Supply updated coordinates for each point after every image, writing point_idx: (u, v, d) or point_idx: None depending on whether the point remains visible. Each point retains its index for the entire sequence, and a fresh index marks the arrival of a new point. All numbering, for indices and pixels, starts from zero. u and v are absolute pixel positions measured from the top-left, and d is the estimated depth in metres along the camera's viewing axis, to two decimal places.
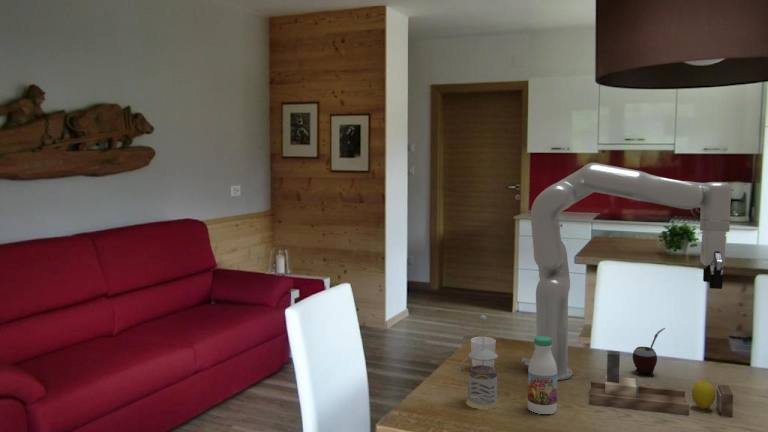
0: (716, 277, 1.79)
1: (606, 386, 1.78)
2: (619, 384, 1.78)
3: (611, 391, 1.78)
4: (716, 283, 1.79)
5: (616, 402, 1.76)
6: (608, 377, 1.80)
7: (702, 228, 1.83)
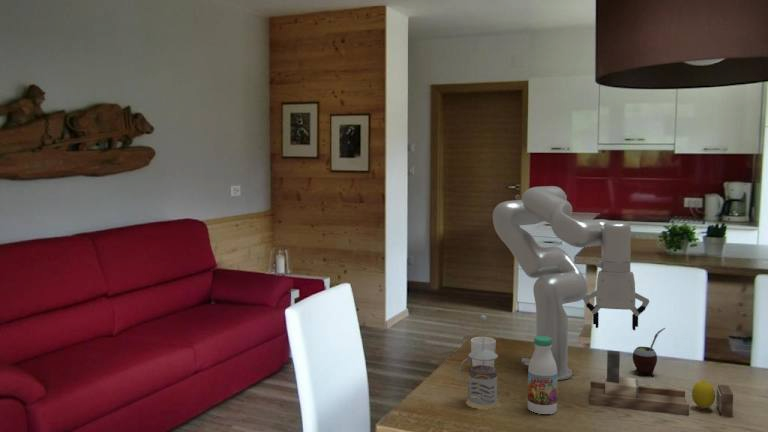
0: None
1: (606, 386, 1.78)
2: (619, 384, 1.78)
3: (611, 391, 1.78)
4: (637, 323, 1.77)
5: (616, 402, 1.76)
6: (608, 377, 1.80)
7: (622, 271, 1.74)
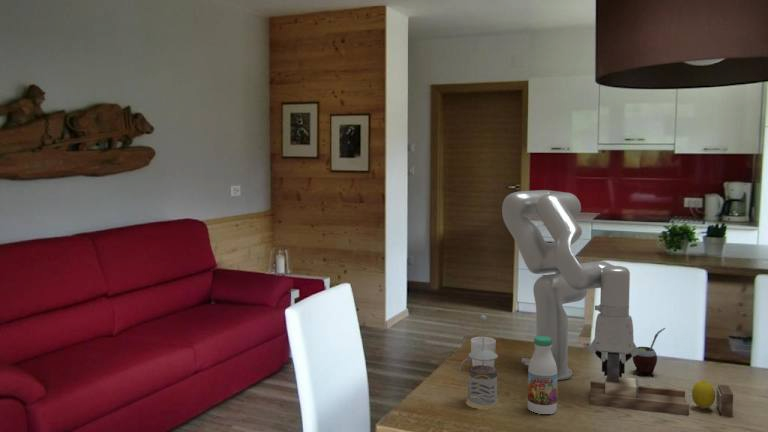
0: None
1: (606, 386, 1.78)
2: (619, 384, 1.78)
3: (611, 391, 1.78)
4: None
5: (616, 402, 1.76)
6: (608, 377, 1.80)
7: (620, 316, 1.75)
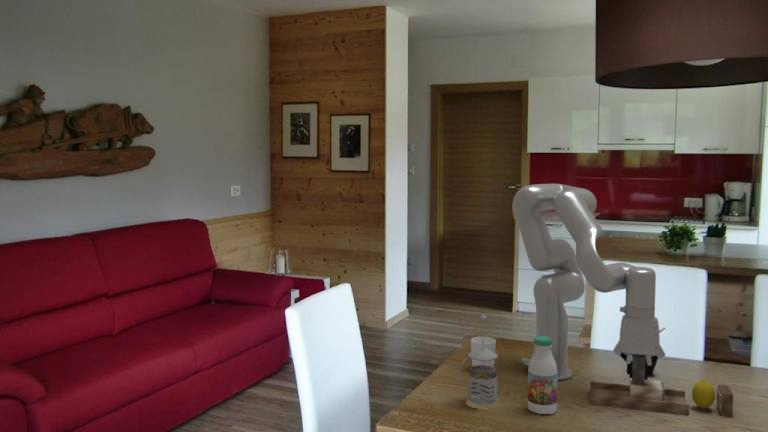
0: None
1: (631, 389, 1.76)
2: (645, 387, 1.76)
3: (637, 394, 1.76)
4: (649, 373, 1.78)
5: (616, 402, 1.76)
6: (633, 379, 1.78)
7: (646, 318, 1.73)
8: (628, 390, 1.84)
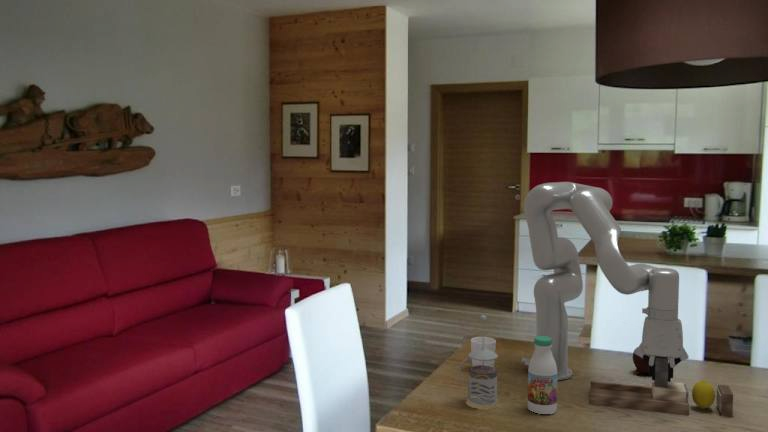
0: None
1: (654, 391, 1.74)
2: (668, 389, 1.74)
3: (660, 396, 1.74)
4: (672, 375, 1.76)
5: (616, 402, 1.76)
6: (656, 382, 1.76)
7: (670, 319, 1.71)
8: (628, 390, 1.84)
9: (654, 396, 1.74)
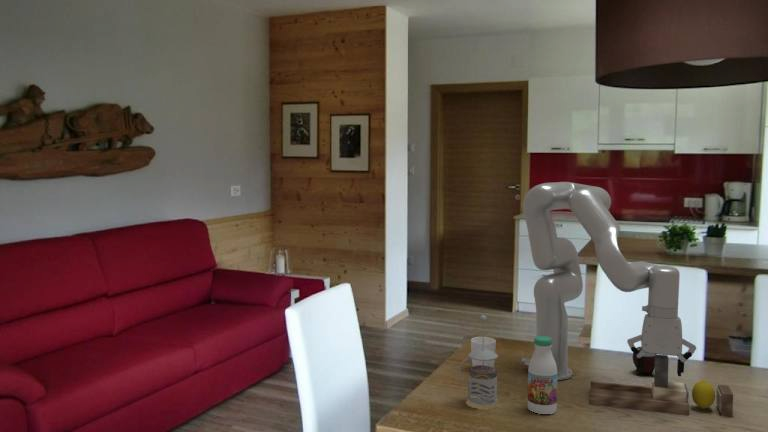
0: None
1: (655, 391, 1.74)
2: (668, 389, 1.74)
3: (660, 396, 1.74)
4: None
5: (616, 402, 1.76)
6: (656, 382, 1.76)
7: (669, 317, 1.71)
8: (628, 390, 1.84)
9: (654, 396, 1.74)
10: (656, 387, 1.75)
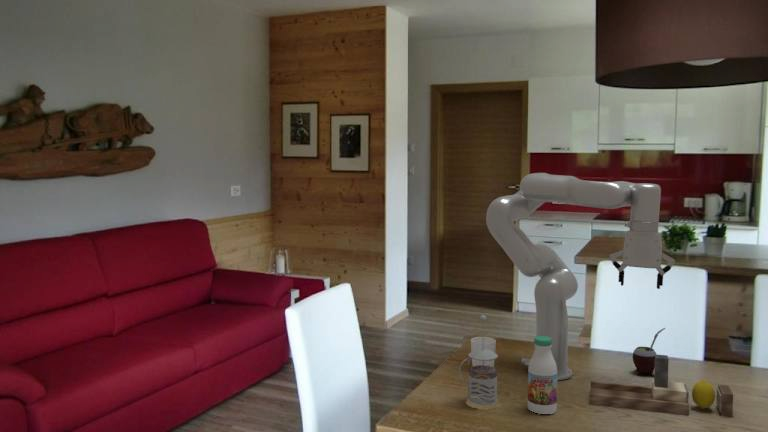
0: None
1: (655, 391, 1.74)
2: (668, 389, 1.74)
3: (660, 396, 1.74)
4: None
5: (616, 402, 1.76)
6: (656, 382, 1.76)
7: (650, 231, 1.79)
8: (628, 390, 1.84)
9: (654, 396, 1.74)
10: (656, 387, 1.75)
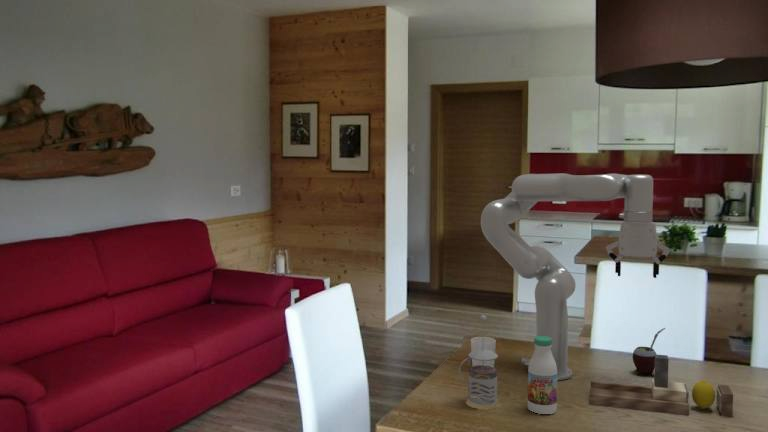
0: None
1: (655, 391, 1.74)
2: (668, 389, 1.74)
3: (660, 396, 1.74)
4: (658, 271, 1.85)
5: (616, 402, 1.76)
6: (656, 382, 1.76)
7: (644, 221, 1.82)
8: (628, 390, 1.84)
9: (654, 396, 1.74)
10: (656, 387, 1.75)
